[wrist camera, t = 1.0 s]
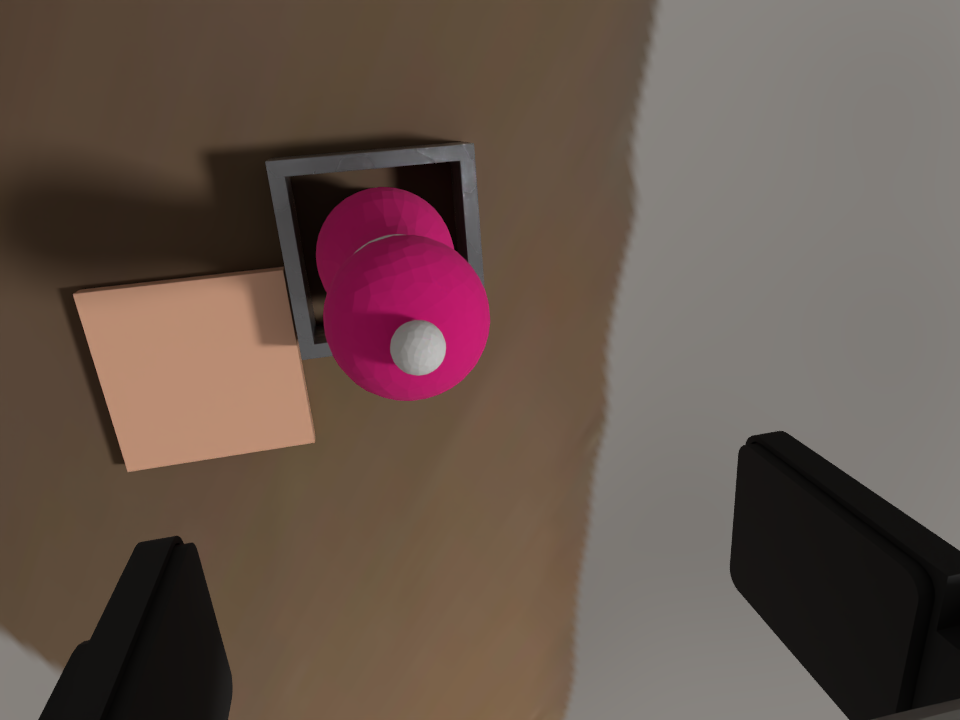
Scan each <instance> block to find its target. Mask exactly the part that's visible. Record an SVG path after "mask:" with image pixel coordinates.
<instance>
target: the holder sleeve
mask: <svg viewBox="0 0 960 720" xmlns="http://www.w3.org/2000/svg"><path fill="white" fill-rule="evenodd" d="M440 162H450V168H451V180H452V191H453V203H454V215H455V226H456V238H457V250H458V253H459V254H460V255H461V256H462V257H463V258H464V259H465V260H466V261H467V262H468V263H469V264H470V265H471V266H472V268H473V269H474V271H475V272H476V274H477V275H478V276H479V278H480V280H481V283H482V285H483V287H484V277H483V263H482V249H481V235H480V222H479V208H478V194H477V180H476V167H475V153H474V143H468V142H451V143H440V144H428V145H416V146H405V147H393V148H382V149H370V150H358V151H347V152H335V153H323V154H312V155H300V156H288V157H277V158H271V159H269V160H267V161H265V163H266V169H267V174H268V179H269V185H270V190H271V196H272V201H273V206H274V212H275V217H276V223H277V228H278V234H279V239H280V244H281V250H282V255H283V261H284V266H285V271H286V277H287V282H288V288H289V293H290V298H291V304H292V309H293V315H294V320H295V325H296V331H297V336H298V342H299V347H300V353H301V358H302V360H305V359H313V358H320V357H327V356H333V355H332V352H331V350H330V348H329V345H328V343H327V340H326V336H325V330H324V325H321V326H316V322H315V317H314V311H313V305H312V299H311V293H310V288H309V282H308V276H307V270H306V265H305V259H304V253H303V247H302V241H301V236H300V230H299V224H298V218H297V212H296V207H295V201H294V195H293V189H292V184H291V178H290V176H297V175H308V174H319V173H330V172H341V171H352V170H363V169H374V168H385V167H396V166H407V165H418V164H429V163H440Z"/></svg>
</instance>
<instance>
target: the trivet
mask: <svg viewBox="0 0 960 720" xmlns="http://www.w3.org/2000/svg"><path fill="white" fill-rule="evenodd" d="M73 297H74V300H75V303H76V306H77V309H78V313H79V316H80V319H81V322H82V326H83V329H84V332H85V335H86V339H87V342H88V345H89V348H90V351H91V355H92V358H93V361H94V364H95V368H96V371H97V374H98V377H99V380H100V384H101V387H102V390H103V393H104V397H105V400H106V403H107V406H108V410H109V413H110V416H111V419H112V422H113V426H114V429H115V432H116V435H117V439H118V442H119V445H120V448H121V451H122V455H123V458H124V461H125V464H126V468H127V471H128V472H130V471H137V470H143V469H149V468H156V467H162V466H168V465H175V464H181V463H187V462H194V461H200V460H206V459H213V458H219V457H225V456H232V455H238V454H245V453H251V452H257V451H264V450H270V449H276V448H283V447H289V446H295V445H302V444H308V443H314V442H315V436H316V435H315V430H314V424H313V419H312V414H311V408H310V403H309V397H308V392H307V387H306V381H305V376H304V370H303V365H302V360H301V354H300V349H299V343H298V338H297V333H296V327H295V322H294V316H293V311H292V305H291V300H290V295H289V289H288V284H287V278H286V273H285V268H284V267H276V268H267V269H258V270H249V271H240V272H232V273H223V274H214V275H205V276H196V277H187V278H179V279H170V280H161V281H152V282H143V283H134V284H125V285H117V286H108V287H99V288H90V289H81V290H78V291H77V292H75V293H74V294H73Z"/></svg>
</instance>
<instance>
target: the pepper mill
mask: <svg viewBox="0 0 960 720" xmlns="http://www.w3.org/2000/svg"><path fill="white" fill-rule="evenodd" d="M316 262H317V269H318V272H319V276H320V279H321V281H322V284H323V286H324V289H325V291H326V292H327V295H326V299H325V303H324V312H323V321H324V330H325V336H326V340H327V343H328V345H329V348H330V350H331V352H332V355H333V357H334V358H335V360H336V362H337V363H338V365H339V366H340V367H341V369H342V370H343V371H344V372H345V373H346V374H347V375H348V376H349V377H350V378H351V379H352V380H353V381H354V382H355V383H356V384H357V385H359V386H360V387H362V388H363V389H365V390H366V391H368V392H371V393H374V394H376V395H379V396H381V397H384V398H389V399H393V400H403V401H413V400H420V399H426V398H429V397H432V396H436V395H439V394H441V393H443V392H445V391H447V390H449V389H451V388H452V387H454V386H455V385H456V384H458V383H459V382H460V381H462V380H463V379H464V378H465V377H466V376H467V375H468V373H469V372H470V371H471V370H472V369H473V368H474V366H475V365H476V363H477V362H478V360H479V358H480V356H481V354H482V352H483V350H484V348H485V345H486V341H487V338H488V335H489V326H490V314H489V303H488V299H487V296H486V292H485V289H484V287H483V285H482V283H481V280H480V278H479V276H478V275H477V274H476V272H475V271H474V269H473V268H472V266H471V265H470V264H469V263H468V262H467V261H466V260H465V259H464V258H463V257H462V256H461V255H460V254H459V253H458V252H457V251H455V250H454V246H453V243H452V239H451V236H450V233H449V230H448V228H447V226H446V224H445V222H444V221H443V219H442V217H441V216H440V215H439V214H438V212H437V211H436V210H435V209H434V208H433V207H432V206H431V205H430V204H429V203H428V202H427V201H425V200H423V199H422V198H420V197H419V196H417V195H415V194H413V193H411V192H408V191H405V190H401V189H397V188H392V187H377V188H369V189H366V190H363V191H359V192H357V193H355V194H353V195H351V196H349V197H347V198H345V199H344V200H343V201H342V202H341V203H340V204H338V205H337V206H336V207H335V208H334V209H333V210H332V212H331V213H330V214H329V215H328V217H327V218H326V220H325V222H324V223H323V225H322V228H321V230H320V233H319V236H318V240H317V245H316Z"/></svg>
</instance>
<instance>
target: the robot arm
mask: <svg viewBox="0 0 960 720" xmlns="http://www.w3.org/2000/svg"><path fill="white" fill-rule="evenodd" d="M730 573H731V577H732V580H733V583H734V585H735V587H736V588H737V590H738V591H739V592H740V593H741V594H742V595H743V597H744V598H745V599H746V600H747V601H748V603H750V605H751V606H752V607H753V608H754V609H755V611H756V612H757V613H758V614H759V615H760V616H761V618H762V619H763V620H764V621H765V622H766V623H767V624H768V626H769V627H770V628H771V629H772V630H773V632H774V633H775V634H776V635H777V636H778V637H779V638H780V640H781V641H782V642H783V643H784V644H785V646H786V647H787V648H788V649H789V650H790V651H791V652H792V654H793V655H794V656H795V657H796V658H797V659H798V660H799V662H800V663H801V664H802V665H803V666H804V668H805V669H806V670H807V671H808V672H809V673H810V675H811V676H812V677H813V678H814V679H815V680H816V681H817V682H818V684H819V685H820V686H821V687H822V688H823V690H824V691H825V692H826V693H827V694H828V695H829V697H830V698H831V699H832V700H833V701H834V702H835V704H836V705H837V706H838V707H839V708H840V709H841V711H842V712H843V713H844V714H845V715H846V716H847V717H848V719H849V720H960V551H959V550H958V549H956V548H955V547H953V546H952V545H950V544H949V543H947V542H946V541H945V540H943V539H942V538H940V537H939V536H937V535H936V534H934V533H933V532H931V531H930V530H928V529H927V528H926V527H924V526H923V525H921V524H920V523H918V522H917V521H915V520H914V519H912V518H911V517H909V516H908V515H906V514H905V513H904V512H902V511H901V510H899V509H898V508H896V507H895V506H893V505H892V504H890V503H889V502H887V501H886V500H884V499H883V498H881V497H880V496H879V495H877V494H876V493H874V492H873V491H871V490H870V489H868V488H867V487H865V486H864V485H862V484H861V483H860V482H858V481H857V480H855V479H854V478H852V477H851V476H849V475H848V474H846V473H845V472H843V471H842V470H840V469H839V468H838V467H836V466H835V465H833V464H832V463H830V462H829V461H827V460H826V459H824V458H823V457H821V456H820V455H819V454H817V453H815V452H814V451H813V450H811V449H810V448H808V447H807V446H805V445H804V444H802V443H801V442H799V441H798V440H796V439H795V438H794V437H792V436H791V435H789V434H788V433H786V432H783V431H777V432H771V433H765V434H760V435H754V436H751V437H749V438H748V440H747V442H746V445H743V446H742V447H741V448H740V450H739V454H738V466H737V480H736V492H735V506H734V519H733V532H732V546H731V559H730ZM231 700H232V675H231V671H230V667H229V663H228V660H227V656H226V653H225V649H224V645H223V642H222V638H221V634H220V631H219V627H218V623H217V620H216V616H215V613H214V609H213V605H212V602H211V598H210V594H209V591H208V587H207V583H206V580H205V576H204V573H203V569H202V565H201V562H200V558H199V554H198V551H197V548H196V546H195V544H194V543H187V544H184V543H183V541H182V539H181V538H180V537H179V536H173V537H167V538H161V539H156V540H150V541H144V542H140V543H138V544H137V545H136V547H135V549H134V551H133V553H132V555H131V557H130V559H129V561H128V563H127V565H126V567H125V569H124V571H123V573H122V575H121V577H120V579H119V581H118V583H117V586H116V588H115V590H114V592H113V594H112V596H111V598H110V600H109V602H108V604H107V606H106V608H105V610H104V612H103V614H102V616H101V618H100V620H99V622H98V624H97V627H96V629H95V631H94V633H93V635H92V637H91V639H90V640H88V641H84V642H82V643H81V644H79V645H78V646H77V647H76V649H75V650H74V652H73V653H72V655H71V657H70V659H69V661H68V663H67V664H66V666H65V668H64V670H63V672H62V674H61V676H60V678H59V680H58V682H57V684H56V686H55V688H54V690H53V692H52V694H51V696H50V698H49V700H48V702H47V704H46V706H45V708H44V710H43V712H42V714H41V715H40V718H39V719H38V720H228V716H229V711H230V705H231Z"/></svg>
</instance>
